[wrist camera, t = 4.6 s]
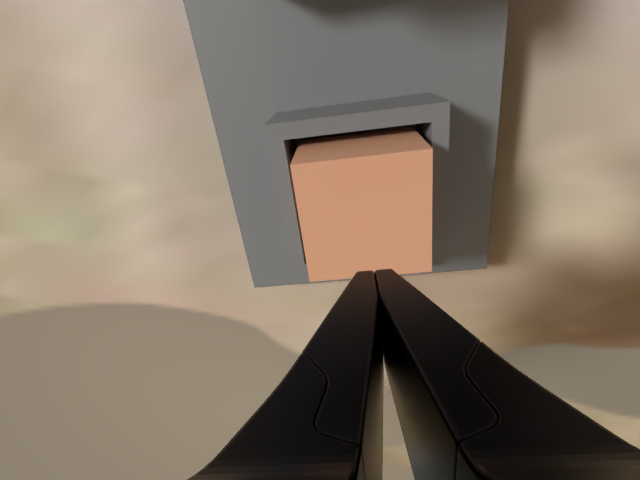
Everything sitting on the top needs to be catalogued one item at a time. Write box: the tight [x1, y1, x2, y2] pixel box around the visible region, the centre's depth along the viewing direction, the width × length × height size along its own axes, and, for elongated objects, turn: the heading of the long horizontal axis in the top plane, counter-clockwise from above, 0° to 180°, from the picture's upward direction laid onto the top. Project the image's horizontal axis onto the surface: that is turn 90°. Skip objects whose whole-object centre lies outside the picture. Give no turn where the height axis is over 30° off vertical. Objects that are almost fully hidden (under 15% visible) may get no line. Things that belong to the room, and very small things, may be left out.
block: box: [183, 0, 509, 288], centre depth 14 cm, size 12×22×5 cm, turn 7°
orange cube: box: [290, 127, 433, 282], centre depth 14 cm, size 4×4×4 cm
